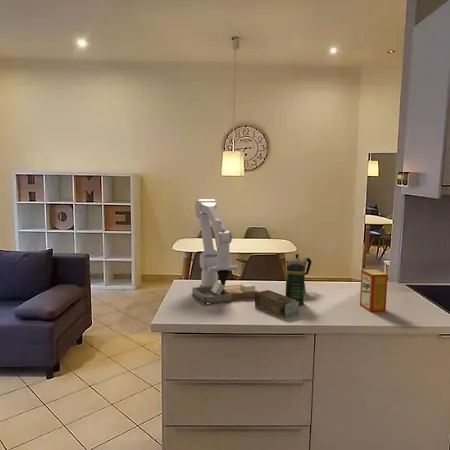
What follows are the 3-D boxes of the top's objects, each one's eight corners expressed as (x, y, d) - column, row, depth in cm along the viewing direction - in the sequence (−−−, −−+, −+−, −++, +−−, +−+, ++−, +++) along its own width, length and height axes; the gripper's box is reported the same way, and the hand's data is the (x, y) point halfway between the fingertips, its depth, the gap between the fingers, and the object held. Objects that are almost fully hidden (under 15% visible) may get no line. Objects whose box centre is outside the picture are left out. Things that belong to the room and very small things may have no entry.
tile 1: (214, 292, 196) (210, 290, 195) (220, 283, 197) (216, 281, 196) (219, 295, 192) (215, 293, 190) (225, 286, 192) (221, 283, 191)
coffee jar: (304, 306, 178) (306, 263, 176) (285, 306, 179) (286, 263, 177) (302, 300, 188) (303, 259, 186) (284, 299, 188) (285, 258, 186)
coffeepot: (290, 294, 197) (292, 256, 195) (279, 289, 205) (280, 253, 203) (316, 290, 204) (317, 254, 202) (304, 286, 212) (305, 251, 210)
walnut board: (218, 292, 198) (218, 286, 198) (245, 290, 204) (245, 284, 203) (230, 300, 186) (230, 294, 185) (258, 297, 191) (258, 291, 191)
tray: (192, 294, 195) (192, 287, 195) (217, 292, 200) (217, 285, 200) (204, 304, 180) (204, 297, 179) (231, 301, 184) (231, 294, 184)
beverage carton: (284, 318, 163) (285, 302, 162) (253, 306, 179) (253, 291, 178) (299, 315, 168) (299, 299, 167) (267, 303, 183) (268, 288, 182)
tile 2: (240, 289, 193) (240, 284, 193) (250, 288, 195) (250, 283, 195) (245, 292, 189) (245, 286, 188) (255, 291, 190) (255, 285, 190)
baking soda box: (385, 311, 173) (387, 273, 171) (370, 312, 172) (372, 273, 170) (373, 304, 182) (375, 268, 180) (359, 305, 181) (361, 269, 179)
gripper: (211, 259, 187) (211, 289, 189) (241, 257, 193) (240, 286, 194) (206, 257, 194) (206, 285, 195) (234, 255, 199) (234, 283, 201)
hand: (222, 286), depth 195 cm, fingers closed, pressing on tile 1
